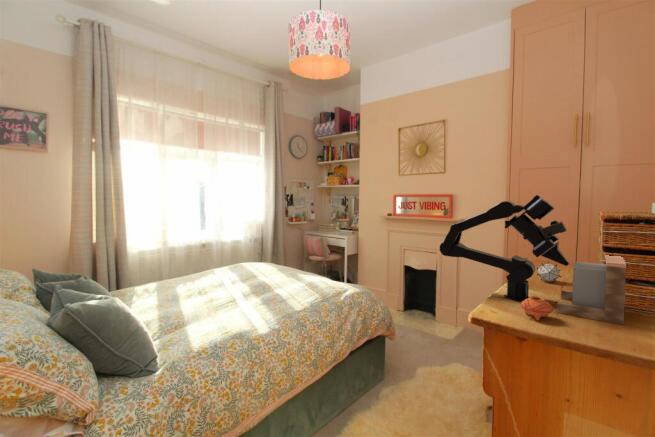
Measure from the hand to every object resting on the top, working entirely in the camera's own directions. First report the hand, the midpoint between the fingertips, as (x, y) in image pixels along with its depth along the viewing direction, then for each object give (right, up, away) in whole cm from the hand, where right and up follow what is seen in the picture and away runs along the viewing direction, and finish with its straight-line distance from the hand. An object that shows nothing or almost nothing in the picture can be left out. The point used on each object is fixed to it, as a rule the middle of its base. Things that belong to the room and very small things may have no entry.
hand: (567, 264), depth 102 cm
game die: (+14, -12, +30) cm, 35 cm away
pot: (-16, -15, -8) cm, 23 cm away
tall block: (+5, -14, -3) cm, 15 cm away
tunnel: (+5, -14, -3) cm, 15 cm away
